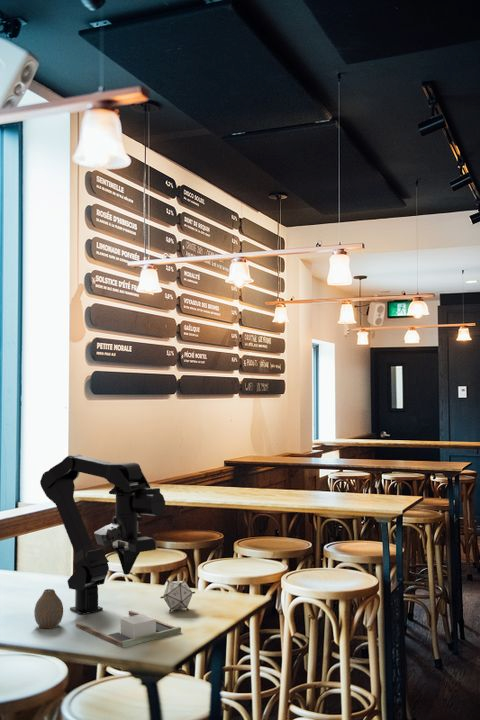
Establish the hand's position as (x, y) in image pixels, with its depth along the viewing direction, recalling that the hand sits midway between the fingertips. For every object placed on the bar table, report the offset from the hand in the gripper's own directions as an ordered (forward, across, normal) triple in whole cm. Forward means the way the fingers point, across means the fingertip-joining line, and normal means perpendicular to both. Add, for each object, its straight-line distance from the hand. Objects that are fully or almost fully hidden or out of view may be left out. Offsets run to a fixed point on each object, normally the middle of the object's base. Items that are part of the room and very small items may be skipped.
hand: (126, 574), depth 195 cm
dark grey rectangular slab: (+11, +13, -5) cm, 18 cm away
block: (+11, +14, -5) cm, 18 cm away
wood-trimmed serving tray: (+11, +8, -5) cm, 14 cm away
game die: (+11, +3, +14) cm, 18 cm away
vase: (+11, -7, -18) cm, 22 cm away
